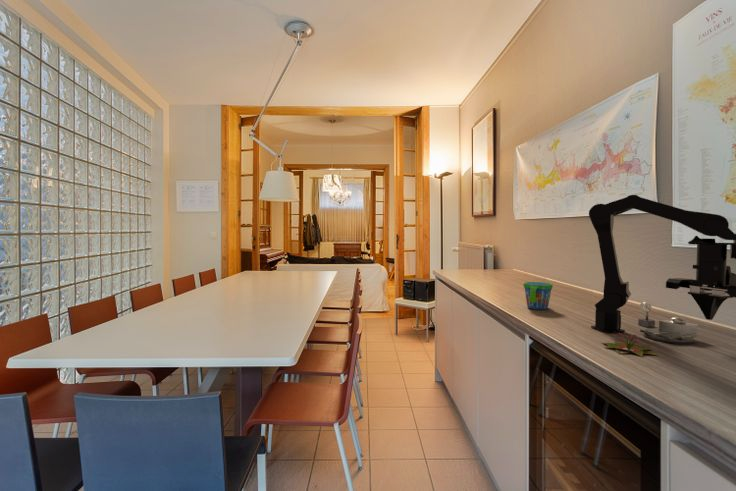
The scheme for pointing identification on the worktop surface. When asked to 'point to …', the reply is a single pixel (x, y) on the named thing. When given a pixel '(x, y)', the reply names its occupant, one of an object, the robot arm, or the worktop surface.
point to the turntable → (667, 336)
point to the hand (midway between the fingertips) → (709, 319)
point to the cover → (678, 326)
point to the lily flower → (629, 346)
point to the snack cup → (537, 294)
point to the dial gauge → (646, 315)
